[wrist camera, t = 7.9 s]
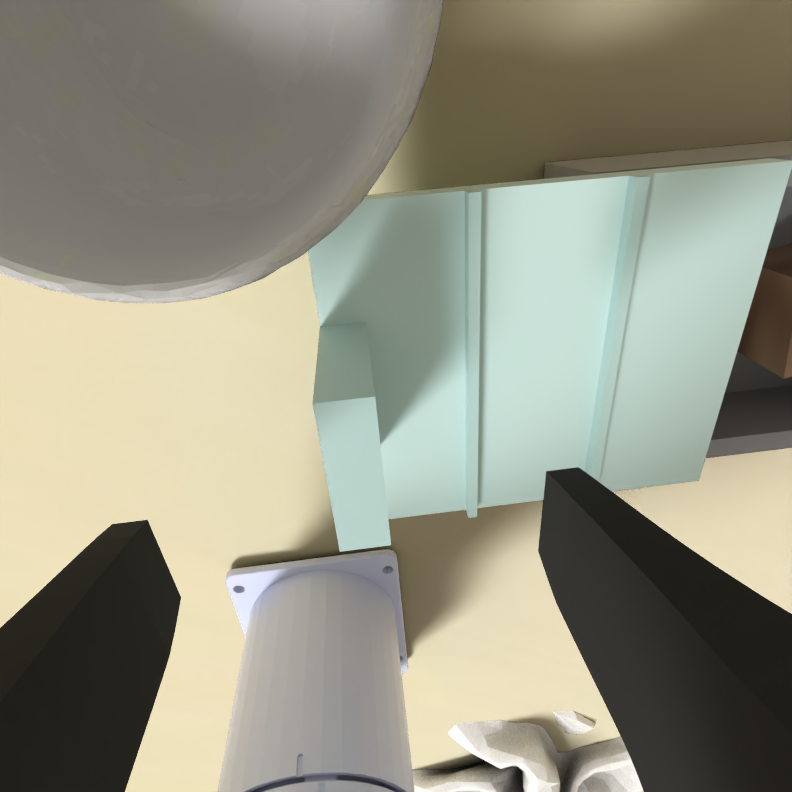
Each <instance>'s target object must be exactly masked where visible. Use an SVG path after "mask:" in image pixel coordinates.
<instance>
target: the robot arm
mask: <svg viewBox="0 0 792 792" xmlns="http://www.w3.org/2000/svg"><path fill="white" fill-rule="evenodd" d="M538 551H539V554H540V557H541V560H542V563H543V566H544V569H545V572H546V575H547V578H548V581H549V584H550V586H551V589H552V592H553V595H554V597H555V600H556V603H557V605H558V607H559V609H560V611H561V614H562V616H563V618H564V620H565V622H566V624H567V626H568V628H569V630H570V632H571V634H572V636H573V639H574V641H575V643H576V645H577V647H578V649H579V651H580V653H581V655H582V657H583V659H584V661H585V663H586V665H587V667H588V669H589V671H590V673H591V675H592V678H593V680H594V682H595V684H596V686H597V688H598V690H599V692H600V694H601V696H602V698H603V700H604V702H605V704H606V706H607V708H608V710H609V712H610V714H611V716H612V718H613V720H614V723H615V725H616V727H617V729H618V731H619V733H620V735H621V738H622V740H623V742H624V744H625V747H626V749H627V751H628V753H629V756H630V758H631V760H632V763H633V765H634V768H635V770H636V773H637V775H638V778H639V780H640V783H641V786H642V788H643V791H644V792H792V614H791V613H789V612H787V611H786V610H784V609H782V608H781V607H779V606H777V605H776V604H774V603H772V602H771V601H769V600H768V599H766V598H764V597H763V596H761V595H759V594H758V593H756V592H755V591H753V590H752V589H750V588H749V587H747V586H745V585H744V584H742V583H741V582H739V581H738V580H736V579H735V578H733V577H732V576H730V575H728V574H727V573H725V572H724V571H722V570H721V569H719V568H718V567H716V566H715V565H713V564H712V563H710V562H709V561H707V560H706V559H704V558H703V557H701V556H700V555H698V554H697V553H696V552H694V551H693V550H691V549H690V548H688V547H687V546H685V545H684V544H683V543H681V542H680V541H678V540H677V539H675V538H674V537H673V536H671V535H670V534H668V533H667V532H666V531H664V530H663V529H661V528H660V527H659V526H657V525H656V524H655V523H653V522H652V521H651V520H649V519H648V518H646V517H645V516H644V515H642V514H641V513H640V512H638V511H637V510H636V509H634V508H633V507H632V506H630V505H629V504H628V503H626V502H625V501H624V500H622V499H621V498H620V497H618V496H617V495H616V494H614V493H613V492H612V491H610V490H609V489H608V488H606V487H605V486H604V485H602V484H601V483H600V482H598V481H597V480H596V479H594V478H593V477H592V476H590V475H589V474H587V473H586V472H585V471H583V470H582V469H580V468H579V467H576V468H568V469H560V470H552V471H546V478H545V489H544V499H543V509H542V519H541V529H540V539H539V550H538ZM386 566H390V567H386ZM226 585H227V588H228V590H229V593H230V596H231V599H232V602H233V604H234V607H235V610H236V613H237V616H238V618H239V621H240V624H241V627H242V629H243V632H244V635H245V644H244V649H243V655H242V660H241V665H240V671H239V676H238V682H237V687H236V693H235V698H234V704H233V709H232V715H231V720H230V726H229V731H228V737H227V742H226V748H225V753H224V759H223V764H222V770H221V775H220V781H219V786H218V792H415V791H414V782H413V773H412V764H411V755H410V746H409V737H408V728H407V719H406V710H405V701H404V692H403V683H402V674H403V673H405V672H406V671H407V670H408V661H407V651H406V641H405V631H404V621H403V611H402V601H401V592H400V582H399V572H398V562H397V555H396V553H395V552H394V551H393V550H390V549H384V550H377V551H369V552H361V553H353V554H345V555H338V556H330V557H322V558H314V559H306V560H299V561H291V562H283V563H275V564H267V565H259V566H252V567H244V568H236V569H232V570H230V571H229V572H228V573H227V576H226ZM180 600H181V597H180V594H179V592H178V590H177V587H176V585H175V583H174V580H173V578H172V576H171V573H170V571H169V569H168V567H167V564H166V562H165V560H164V557H163V555H162V553H161V550H160V548H159V546H158V543H157V541H156V539H155V537H154V534H153V532H152V530H151V527H150V525H149V523H148V520H143V521H135V522H127V523H119V524H112V525H111V526H110V527H109V528H107V529H106V530H105V531H104V532H103V533H102V534H100V535H99V536H98V537H97V538H96V539H95V540H94V541H93V542H92V543H91V544H90V545H88V546H87V547H86V548H85V549H84V550H83V551H82V552H81V553H80V554H79V555H78V556H77V557H76V558H75V559H73V560H72V561H71V562H70V563H69V564H68V565H67V566H66V567H65V568H64V569H63V570H62V571H61V572H60V573H59V574H58V575H57V576H56V577H54V578H53V579H52V580H51V581H50V582H49V583H48V584H47V585H46V586H45V587H44V588H43V589H42V590H41V591H40V592H39V593H37V594H36V595H35V596H34V597H33V598H32V599H31V600H30V601H29V602H28V603H27V604H26V605H25V606H24V607H22V608H21V609H20V610H19V611H18V612H17V613H16V614H15V615H14V616H13V617H12V618H11V619H10V620H9V621H7V622H6V623H5V624H4V625H3V626H2V627H1V628H0V792H125V789H126V786H127V783H128V780H129V777H130V774H131V771H132V768H133V765H134V762H135V759H136V756H137V753H138V750H139V747H140V744H141V741H142V738H143V735H144V732H145V729H146V726H147V723H148V720H149V717H150V714H151V711H152V708H153V705H154V702H155V699H156V696H157V693H158V690H159V687H160V684H161V681H162V678H163V674H164V671H165V668H166V665H167V662H168V659H169V655H170V651H171V646H172V641H173V637H174V632H175V627H176V622H177V616H178V611H179V605H180Z"/></svg>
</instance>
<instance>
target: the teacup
mask: <svg viewBox="0 0 792 792" xmlns="http://www.w3.org/2000/svg"><path fill="white" fill-rule="evenodd" d="M442 4H443V0H0V273H1V274H4V275H7V276H9V277H12V278H14V279H17V280H19V281H22V282H25V283H28V284H32V285H35V286H38V287H41V288H45V289H48V290H52V291H58V292H62V293H67V294H72V295H76V296H81V297H85V298H90V299H95V300H103V301H113V302H122V303H167V302H178V301H187V300H195V299H202V298H206V297H210V296H213V295H217V294H220V293H224V292H227V291H231V290H233V289H236V288H239V287H241V286H244V285H247V284H249V283H252V282H255V281H257V280H260V279H263V278H265V277H266V276H268V275H269V274H271V273H273V272H274V271H276V270H277V269H279V268H281V267H282V266H284V265H286V264H288V263H290V262H292V261H293V260H295V259H297V258H299V257H300V256H302V255H303V254H304V253H306V252H307V251H308V250H310V249H311V248H312V247H314V246H315V245H316V244H317V243H319V242H320V241H321V240H323V239H324V238H325V237H326V236H327V235H329V234H330V233H331V232H332V231H334V230H335V229H336V228H337V227H338V226H339V225H340V224H341V223H342V222H343V221H344V220H345V219H346V218H347V217H348V216H349V215H350V214H351V213H352V212H353V211H354V210H355V209H356V207H357V206H358V205H359V204H360V203H361V202H362V201H363V199H364V198H365V196H366V195H367V194H368V192H369V191H370V189H371V188H372V186H373V185H374V183H375V182H376V181H377V179H378V178H379V176H380V175H381V173H382V172H383V170H384V169H385V167H386V165H387V164H388V162H389V160H390V159H391V157H392V155H393V153H394V152H395V150H396V148H397V146H398V145H399V143H400V141H401V139H402V137H403V135H404V133H405V131H406V129H407V128H408V126H409V124H410V122H411V120H412V118H413V115H414V113H415V110H416V107H417V104H418V102H419V99H420V96H421V93H422V91H423V88H424V85H425V82H426V79H427V76H428V73H429V71H430V68H431V65H432V56H433V51H434V47H435V43H436V39H437V35H438V30H439V25H440V19H441V12H442Z"/></svg>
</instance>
